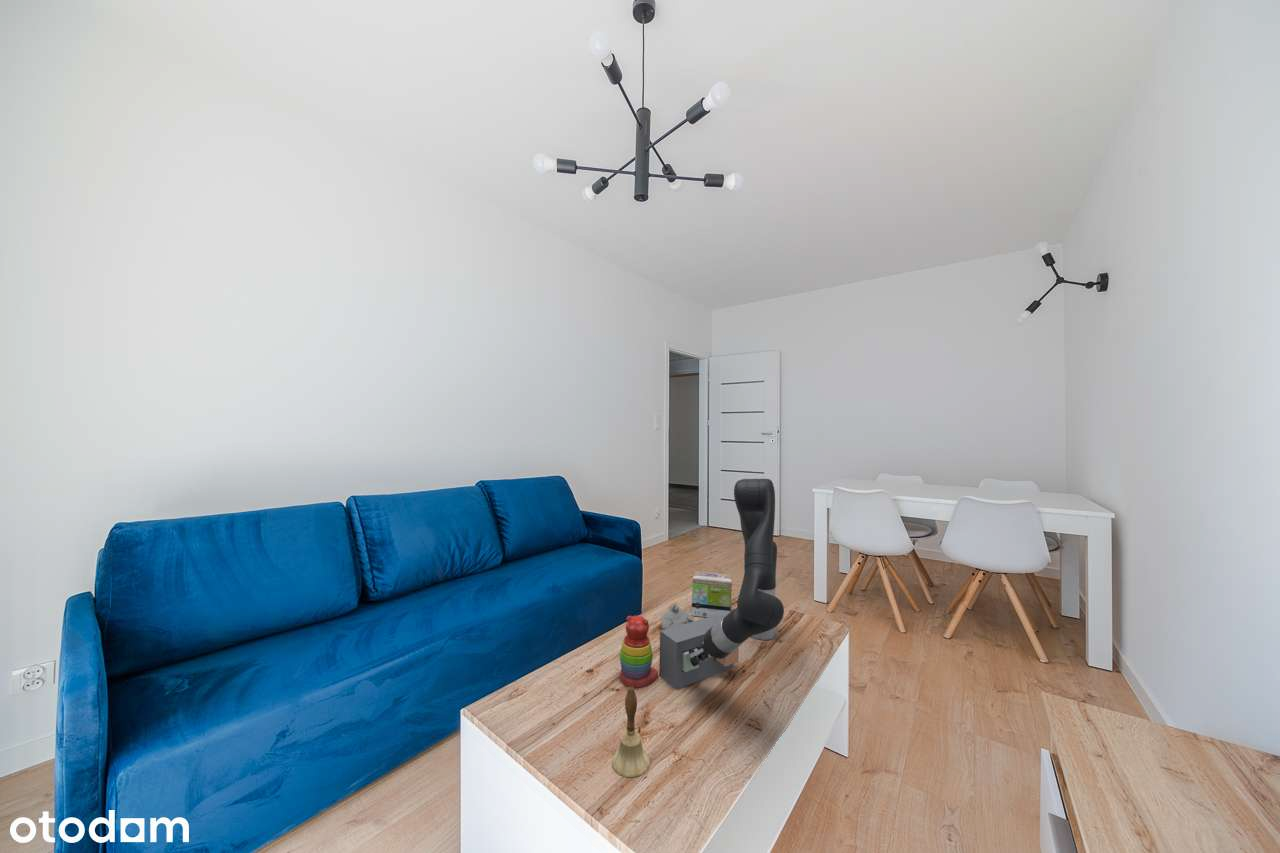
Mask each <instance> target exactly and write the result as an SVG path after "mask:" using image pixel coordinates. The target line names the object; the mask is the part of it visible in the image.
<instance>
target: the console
mask: <svg viewBox="0 0 1280 853" xmlns="http://www.w3.org/2000/svg"><path fill="white" fill-rule="evenodd" d="M720 619H722V618H721V617H720V616H718V615H715V616H711V617H703V618H702V619H697V620H694V621H693V622H690V623H686V624H683V625H679V626H676V627H672V628H668V629H665V630H663V629H662V630H660V631H659V667H658V668H659V669H658V670H659V672H658V677H661V679H663V680H664V681H665V682H666V683H667V684H669V685H670V686H671V687H672V688H673V689H675V690H678V689H681V688H683V687H686V686H689V685H691V684H694V683H697V682H699V681H702V680H704V679H708V678H710V677H713V676H715V675H718V674H720V673H724V672H726V671H729V670H732V669H734V668H735V667H734V666H735V665H734V664H735V663H734V664H731V665H728V666H724V665H723V664H721V663H720V662H718V661H717V660H716V658H715V657H713V658H711V659H707V660H706V661H703V662H701V663H700V664H699V667H698V668H696V669H693V670H690V671H687V672H684V671H683V670H682V652H683V651H686V650H689V649H692V648H695V647H696V648H698V647H699V646H700V645H701V643H702V642H704V635H705V633H706V632H707V631H708V630H709V629H710V628H711V627H712V626H713V625H714V624H716V623H717V622H718V621H719V620H720Z"/></svg>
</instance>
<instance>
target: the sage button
mask: <svg viewBox="0 0 1280 853" xmlns="http://www.w3.org/2000/svg"><path fill="white" fill-rule="evenodd" d="M689 650H695V651H697V648H696V647H695V648H692V649H689ZM689 650H686V651H683V652H682V670H683V671H684V672H687V671H690V670H693V669H696V668H698V667H699V665H697V666H693V665H692V663H691V661H690V659H691V656H690V654H689Z"/></svg>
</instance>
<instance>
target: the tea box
mask: <svg viewBox="0 0 1280 853" xmlns="http://www.w3.org/2000/svg"><path fill="white" fill-rule="evenodd" d="M732 582H733V581H732V575H731V574H729V573H720V572H719V573H718V572H708V571H707V572H706V571H697V570H696V571H695V570H694V571H693V576H692V589H691V590H692V591H691V592H692V593H691V594H692V595H691V616H692V617H702V618H708V617H711V616H715V615H718V616H720V617H721V618H724V617H725V616H726V615H728V614H729V613H730V612H731V611H732V591H733V588H732V587H733V583H732Z"/></svg>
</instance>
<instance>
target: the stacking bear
mask: <svg viewBox="0 0 1280 853" xmlns="http://www.w3.org/2000/svg"><path fill="white" fill-rule="evenodd" d="M649 630H650V624H649V621H648V619H647V618H645V617H644V616H641V615H633V616H632V615H628V616H627V617H626V624H625V632H626V635H625V636H624V638H623V641H622V644H621V648H620V653H619V662H620V668H621V669H620V673H619V679H620V682H621V683H622V684H623V685H625V686H627V687H628V688H629V687H634V688H643V687H646V686H648V685H651V683H653V682H655V680H657V678H658V677H659V672H658V670H657V669H656V668H654V667H652V663H653V648H652V644H651V641H650V637H649V636H648V633H649Z"/></svg>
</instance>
